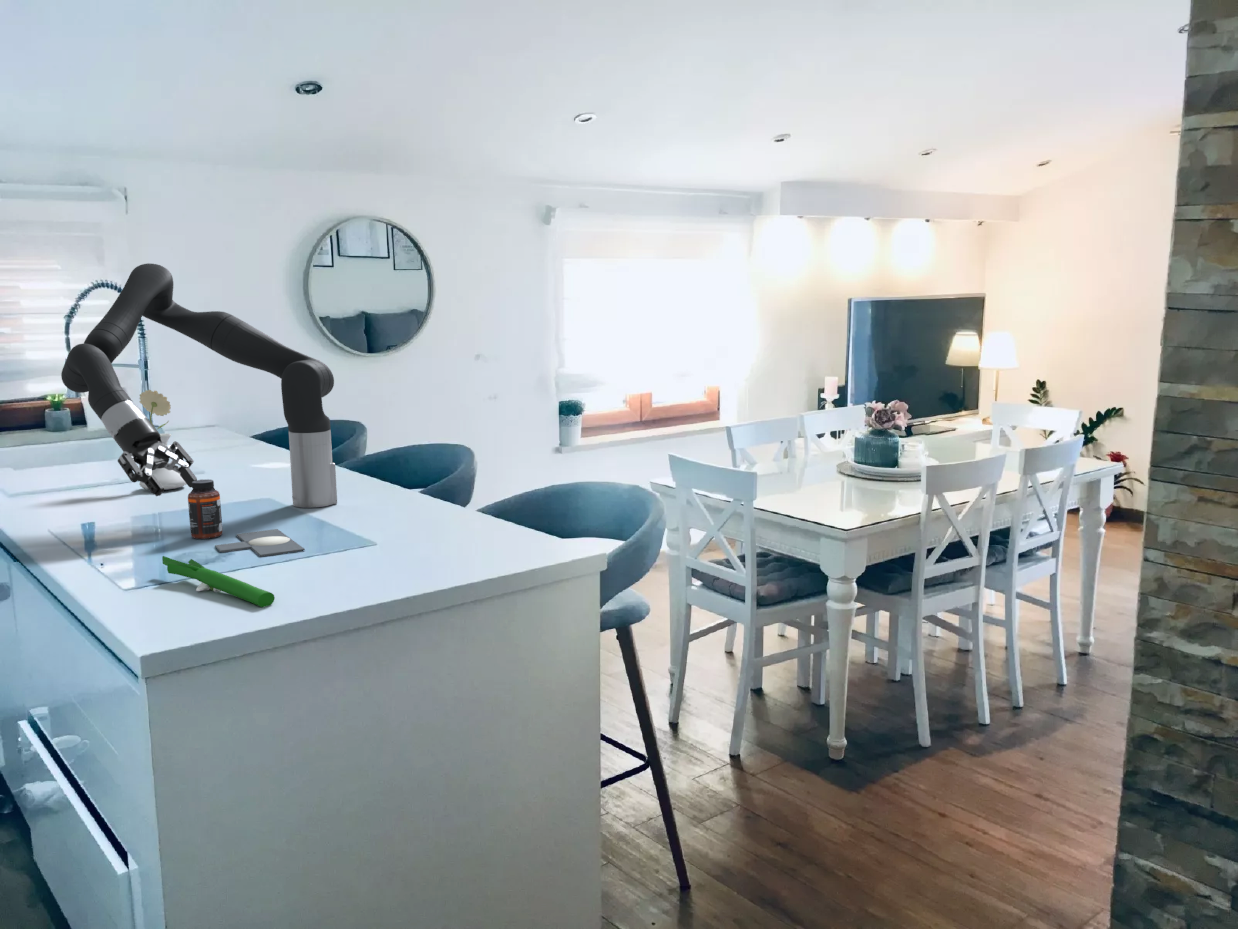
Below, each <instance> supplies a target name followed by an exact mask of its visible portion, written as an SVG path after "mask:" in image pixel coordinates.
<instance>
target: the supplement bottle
mask: <svg viewBox="0 0 1238 929" xmlns="http://www.w3.org/2000/svg"><path fill="white" fill-rule="evenodd" d="M191 488H192V489H191V491H190V492H189V493H188V495H187V503H188V504H187V505H188V517H189V528H190V536H191V537H192V539H196V540H207V539H208V540H209V539H213V538H218V537H220V536H222V535H223V532H224V531H223V520H222V519H223V517H222V507H221V506H222V505H221V493H220V492H219V491H218V489H216V488H215V483H214V480H213V479H209V478H207V479H197V480H196V481H193V482H192V487H191Z"/></svg>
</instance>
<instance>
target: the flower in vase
mask: <svg viewBox="0 0 1238 929" xmlns="http://www.w3.org/2000/svg"><path fill="white" fill-rule="evenodd" d="M138 399H139V403H140V404H141V405H142V407H143V408H144V409H145V410H146V412H149V413H150V414H149V421H150V422H151V423H152V425H153V426H154V427H155V425H154V423H153V422H152V417H153V415H154V414H155V415H156V416H160V417H164V415H165V416H167V415H168V414H171V406H172V405H171V402H170V401H169V400H168V397H167V396H164V395H163V393H159V392H158V391H157V390H151V389H148V390H146V389H145V390H144V391H143V392H142V391H141V393H140V394H139V398H138ZM169 422H170V420H167V422H166V423H164V424H161V425H159V426H158V427H157V428H156V430H157V431H158V430H159V429H161V428H163V427H164V426H165V425H167V424H168V423H169ZM159 434H160V438H161V442H162V443H163V444H165V445H166V446H168V442H169V439H170V438H171V437H172V433H159ZM168 463H170V461H169V462H168ZM151 476H155V477H156V479H157V480H158V481H159V483H160V484H161V485H162V486H163V488H164V491H165V490H166V491H167V490H172V489H178V488H182V487H184V486H187V484H186V482H185V481H184V480H183V479H182V477H181V476H180V474H179V473H177V472H175V471H174V470H167V469H166V468H161V469H159V468H157V469H155V470H152V475H151ZM138 485H139V486H140V487H141V488H143V489H145V490H149V488H148V487H147V486H146V485H145V483H142V482H141V481H139V484H138Z"/></svg>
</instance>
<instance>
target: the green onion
mask: <svg viewBox="0 0 1238 929" xmlns="http://www.w3.org/2000/svg"><path fill="white" fill-rule="evenodd" d="M161 561H162V564H163V565H165V566H166V568H167V569H166V570H167V574H172V575H177V576H181V577H186V578H188V579H194V580H197V581H198V582H200V584H199V585H198V586H197V587H196V589H195V591H196V592H201V591H209V590H211V591H213V592H215V593H219V592H224V593H226V594H228V595H231V596H233V597H235V598H238V599H241V600H243V601H246V602H249V603H251V604H253V605H255V606H257V607H260V608H265V607H269V606H271V605H273V603H274V602H275V598H276V597H275V594H273V592H270V591H267V590H265V589H262V588H259V587H257V586H254V585H252V584H249V583H247V582H245V581H242V580H240V579H237V578H234V577H232V576H230V575H227V574H223V573H222V572H219V571H217V570H212V569H210V568H207V567H205V566H203V565H202V564H200V563H199V562H197V561H196V560H194V559H192V558H190V560H189V561H187V563H186V562H183V561H179V560H176V559H173V558H170V557H167V556H164V555H163V556H162V560H161Z"/></svg>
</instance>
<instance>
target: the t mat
mask: <svg viewBox="0 0 1238 929" xmlns="http://www.w3.org/2000/svg"><path fill="white" fill-rule="evenodd" d="M235 535H236V537H237V538H238V539H239V540H241V541H237V542H230V543H223V544H215V545H214V548H215V547H216V548H217V549H218V550H219V551H220V552H222V553H228V552H229V551H230V552H235V551H243V549H245V550H252V551H253V552H254V553H255V554H256V555H257V556H259V557H260V558H262V557H263V556H264V557H268V556H269V557H271V556H276V555H278V554H279V555H284V554H283V553H286V554H289V553H288V552H293V553H298V552H297V551H300V552H303V551H302V550H305V548H304V547H303V546H302V545H300V544H299V543H297V542H296V541H295V540H293V539H292V538H290V537H289V536H288V535H286V534H285V533H284V532H282V531H281V530H279V529H278V528H274V529H266V530H257V531H251V532H242V533H236V534H235ZM216 548H215V549H216ZM217 549H216V550H217ZM218 550H217V551H218ZM219 551H218V552H219ZM305 551H306V550H305ZM220 552H219V553H220ZM230 552H229V553H230Z"/></svg>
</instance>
